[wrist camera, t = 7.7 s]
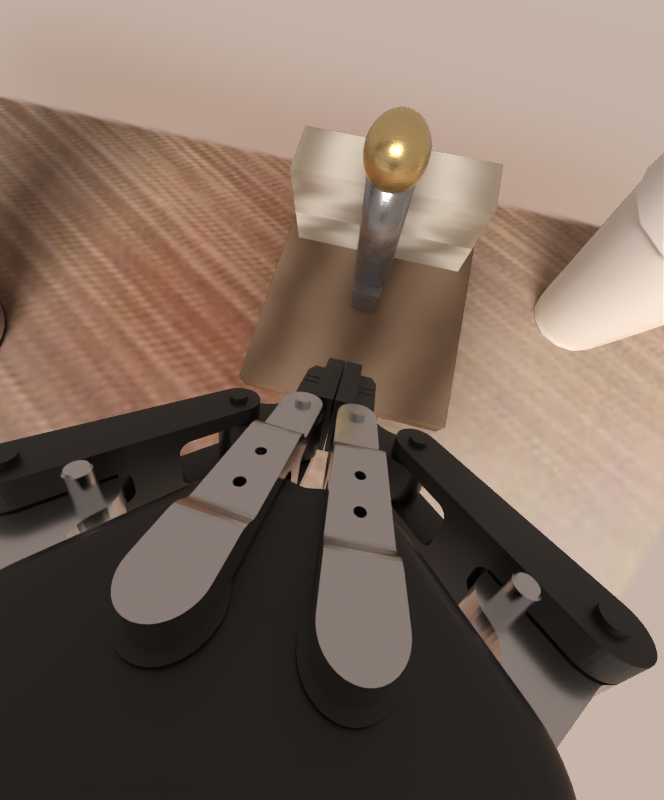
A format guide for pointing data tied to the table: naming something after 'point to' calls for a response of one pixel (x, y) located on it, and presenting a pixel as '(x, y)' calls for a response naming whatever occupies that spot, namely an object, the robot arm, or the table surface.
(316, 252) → the board
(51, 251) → the table surface
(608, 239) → the foam cup
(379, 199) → the gold knob lever
